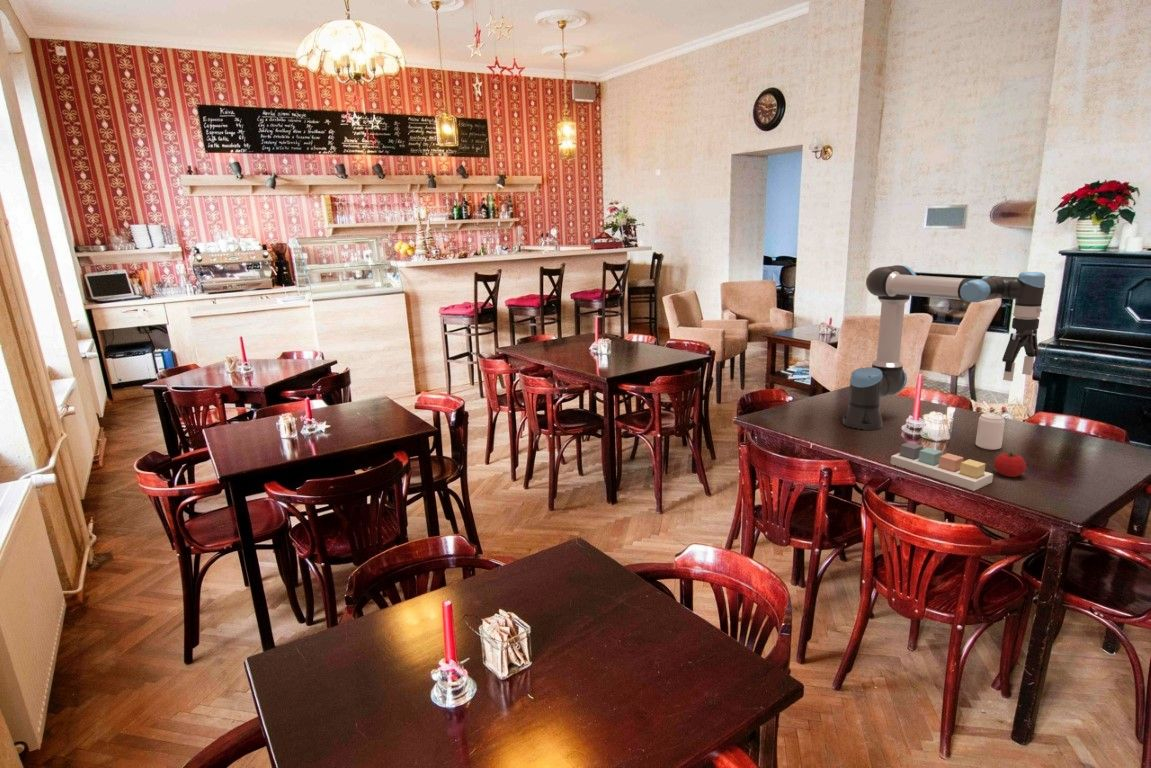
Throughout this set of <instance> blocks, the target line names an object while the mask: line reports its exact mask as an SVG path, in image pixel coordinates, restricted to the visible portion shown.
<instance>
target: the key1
mask: <svg viewBox="0 0 1151 768" xmlns="http://www.w3.org/2000/svg"><path fill="white" fill-rule="evenodd" d="M923 449H924V445H921V444H918V443H915V442H909V441H908V442H905V443H901V445H900V451H899V453H900V456H902V457H906V458H909V459H912V460H915V459H918V458H919V454H920V450H923Z"/></svg>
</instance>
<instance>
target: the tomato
mask: <svg viewBox="0 0 1151 768" xmlns="http://www.w3.org/2000/svg"><path fill="white" fill-rule="evenodd" d="M1026 464H1027V463H1026V461H1025V460H1024V458H1023V457H1022V456H1020V455H1018V454H1015V453H1012V452H1003V453H1000V454H999V455H997V456H996V457H995V459H994V461H993V466H994V468H995V470H996V471H997V473H998V474H1000V475H1002V476H1005V477H1011V478H1012V477H1013V478H1015V477H1018V476H1022V474H1023V473H1025V471H1026V469H1027V465H1026Z"/></svg>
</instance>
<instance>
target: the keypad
mask: <svg viewBox="0 0 1151 768" xmlns="http://www.w3.org/2000/svg"><path fill="white" fill-rule="evenodd" d="M889 465H891V466H892V465H893V466H895V465H896V466H895V467H897V468H898V467H899V468H902V469H904V468H905V470H909V471H911V472H915V473H916V474H920V475H923V476H927V477H929V478H932V479H936V480H938V481H941V482H945V483H949V484H952V485H955V486H957V487H961V488H964V489H966V490H970V491H973V492H974V491H977V490H979V489H981V488H983V487H985V486H988V485H989V484H992V483H993V479H994V478H993V477H994V473H991V472H988V471H985V472H984V476H982V477H980V478H978V479H974V478H971V477H968V476H965V475H961V474H960V470H959V471H957V472H952V471H948V470H945V469H942V468H939V464H938V465H935V466H932V465H929V464H925V463H922V462H919V458H918V459H915V460H912V459H909V458H906V457H902V456H900V452H897V453H895V454H893V455H891V457H890V464H889Z"/></svg>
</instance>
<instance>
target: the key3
mask: <svg viewBox="0 0 1151 768" xmlns="http://www.w3.org/2000/svg"><path fill="white" fill-rule="evenodd" d="M961 462H964V457H963V456H960V455H955V454H952V453H949V452H947V453H945V454H942V456H940V460H939V468H942V469H945V470H948V471H952V472H957V471H959V470H960V467H961Z"/></svg>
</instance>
